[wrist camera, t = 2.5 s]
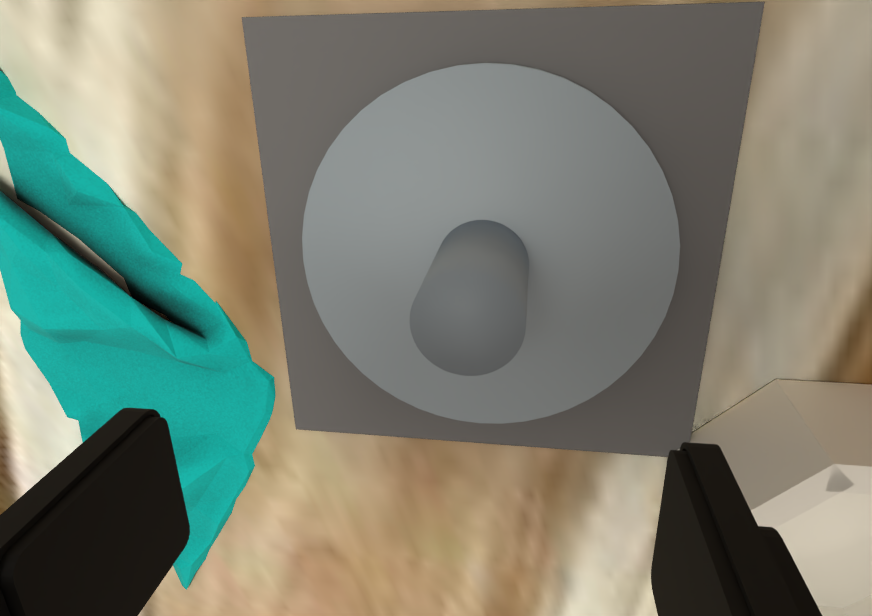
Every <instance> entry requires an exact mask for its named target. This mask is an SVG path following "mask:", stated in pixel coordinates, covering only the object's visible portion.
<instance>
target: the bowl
mask: <svg viewBox="0 0 872 616" xmlns="http://www.w3.org/2000/svg"><path fill="white" fill-rule="evenodd" d="M689 443H705V444H717V445H719V447H720V448H721V450H722V452H723V454H724V456H725V458H726V460H727V462H728V464H729V466H730V469H731V471H732V473H733V475H734V477H735V479H736V481H737V483H738V485H739V487H740V489H741V491H742V494H743V496H744V498H745V500H746V502H747V504H748V506H749V508H750V510H751V512H752V514H753V516H754V519H755V521H756V523H757V525H758V526H764V527H773V528H774V529H776V530H777V531H778V533H779V534H780V536H781V537H782V539H783V541H784V543H785V545H786V546H787V548H788V550H789V552H790V554H791V556H792V558H793V560H794V562H795V564H796V566H797V568H798V570H799V572H800V573H801V575H802V577H803V579H804V581H805V583H806V585H807V587H808V589H809V591H810V593H811V595H812V597H813V599H814V600H815V602H816V604H817V606H818V608H819V610H820V612H821V614H822V616H872V384H854V383H836V382H818V381H799V380H781V379H775V380H774V381H772V382H771V383H769V384H768V385H766V386H765V387H763V388H761V389H760V390H758V391H757V392H755V393H754V394H752V395H751V396H749V397H747V398H746V399H744V400H743V401H741V402H740V403H738V404H737V405H735V406H733V407H732V408H730V409H729V410H727V411H726V412H724V413H723V414H721V415H719V416H718V417H716V418H715V419H713V420H712V421H710V422H708V423H707V424H705V425H704V426H702V427H701V428H699V429H698V430H696V431H694V432H693V433H691V439H690V442H689ZM678 450H680V449H678Z"/></svg>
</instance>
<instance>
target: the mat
mask: <svg viewBox="0 0 872 616" xmlns="http://www.w3.org/2000/svg"><path fill="white" fill-rule="evenodd" d="M764 3H765V2H740V3H706V4H673V5H639V6H606V7H573V8H539V9H506V10H472V11H439V12H405V13H372V14H338V15H305V16H272V17H242V23H243V30H244V38H245V46H246V53H247V61H248V68H249V76H250V84H251V91H252V99H253V106H254V114H255V122H256V129H257V137H258V144H259V152H260V160H261V167H262V175H263V183H264V190H265V198H266V205H267V213H268V221H269V228H270V236H271V243H272V251H273V259H274V266H275V274H276V281H277V289H278V297H279V304H280V312H281V319H282V327H283V335H284V342H285V350H286V358H287V365H288V373H289V380H290V388H291V396H292V403H293V411H294V418H295V426H296V429H300V430H313V431H327V432H340V433H353V434H367V435H380V436H394V437H407V438H420V439H434V440H447V441H460V442H474V443H487V444H501V445H514V446H527V447H541V448H554V449H567V450H581V451H594V452H608V453H621V454H634V455H648V456H661V457H668V455H669V452H670V450H678V449H680V447H681V444H682V443H683V442H690V439H691V433H692V427H693V421H694V415H695V410H696V404H697V398H698V392H699V386H700V380H701V374H702V368H703V362H704V356H705V351H706V345H707V339H708V333H709V327H710V321H711V315H712V309H713V303H714V297H715V292H716V286H717V280H718V274H719V268H720V262H721V256H722V250H723V244H724V239H725V233H726V227H727V221H728V215H729V209H730V203H731V197H732V191H733V185H734V180H735V174H736V168H737V162H738V156H739V150H740V144H741V138H742V132H743V126H744V121H745V115H746V109H747V103H748V97H749V91H750V85H751V79H752V73H753V68H754V62H755V56H756V50H757V44H758V38H759V32H760V26H761V20H762V14H763V9H764ZM475 63H505V64H516V65H521V66H526V67H531V68H536V69H540V70H543V71H546V72H549V73H552V74H555V75H558V76H561V77H564V78H566V79H568V80H570V81H572V82H574V83H576V84H578V85H580V86H582V87H584V88H585V89H587V90H589V91H591V92H592V93H593V94H595V95H596V96H598V97H599V98H600V99H602V100H603V101H605V102H606V103H608V104H609V105H610V106H611V107H613V108H614V109H615V110H616V111H617V112H618V113H619V114H620V115H621V116H622V117H623V118H624V119H625V120H626V121H627V122H628V123H629V124H630V125H631V126H633V128H634V129H635V130H636V131H637V133H638V134H639V135H640V137H641V138H642V139H643V140H644V142H645V143H646V144H647V145H648V147H649V148H650V150H651V151H652V153H653V155H654V157H655V158H656V160H657V162H658V164H659V165H660V167H661V169H662V171H663V173H664V176H665V178H666V181H667V183H668V186H669V188H670V191H671V193H672V196H673V201H674V205H675V209H676V214H677V218H678V225H679V238H680V255H679V270H678V275H677V280H676V285H675V289H674V294H673V297H672V300H671V302H670V305H669V308H668V311H667V313H666V316H665V318H664V320H663V322H662V324H661V326H660V328H659V329H658V331H657V333H656V335H655V337H654V338H653V340H652V341H651V343H650V344H649V345H648V347H647V348H646V350H645V351H644V352H643V354H642V355H641V357H640V358H639V359H638V360H637V361H636V362H635V363H634V364H633V365H632V366H631V367H630V368H629V369H628V370H627V372H626V373H624V374H623V375H622V376H621V377H620V378H618V379H617V380H616V381H615V382H614V383H612V384H611V385H610V386H609V387H608V388H606V389H604V390H603V391H601V392H600V393H598V394H597V395H595V396H594V397H592V398H590V399H589V400H587V401H585V402H583V403H581V404H578V405H576V406H574V407H572V408H570V409H568V410H565V411H562V412H559V413H556V414H553V415H550V416H548V417H543V418H539V419H534V420H529V421H524V422H514V423H504V424H495V423H474V422H466V421H459V420H455V419H450V418H446V417H442V416H438V415H435V414H432V413H429V412H427V411H424V410H421V409H418V408H416V407H414V406H412V405H410V404H408V403H406V402H404V401H401V400H399V399H398V398H396V397H394V396H393V395H391V394H390V393H388V392H386V391H385V390H383V389H382V388H380V387H379V386H378V385H376V384H375V383H374V382H373V381H371V380H370V379H369V378H368V377H366V376H365V375H364V374H363V373H362V372H361V371H360V370H359V369H358V368H357V367H356V366H355V365H354V364H353V363H352V362H351V361H350V360H349V359H348V358H347V357H346V356H345V354H344V353H343V352H342V351H341V349H340V348H339V347H338V346H337V344H336V343H335V342H334V340H333V339H332V337H331V335H330V334H329V332H328V330H327V329H326V327H325V326H324V324H323V322H322V320H321V318H320V315H319V313H318V311H317V309H316V307H315V305H314V302H313V299H312V296H311V293H310V289H309V286H308V283H307V278H306V273H305V267H304V262H303V246H302V232H303V220H304V212H305V208H306V203H307V199H308V194H309V191H310V188H311V185H312V183H313V180H314V177H315V174H316V172H317V169H318V167H319V166H320V164H321V162H322V160H323V158H324V156H325V154H326V153H327V151H328V149H329V147H330V146H331V145H332V143H333V142H334V141H335V139H336V138H337V137H338V135H339V134H340V132H341V131H342V130H343V128H344V127H345V126H346V125H347V124H348V123H349V122H350V121H351V120H352V119H353V118H354V117H355V116H356V115H357V114H358V113H359V112H360V111H361V110H362V109H364V108H365V107H366V106H368V105H369V104H370V103H371V102H373V101H374V100H375V99H377V98H378V97H379V96H381V95H382V94H384V93H386V92H387V91H389V90H391V89H393V88H394V87H396V86H398V85H400V84H402V83H403V82H405V81H408V80H411V79H413V78H416V77H418V76H421V75H423V74H426V73H428V72H432V71H436V70H440V69H444V68H448V67H452V66H457V65H464V64H475Z"/></svg>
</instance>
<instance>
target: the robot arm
mask: <svg viewBox="0 0 872 616" xmlns="http://www.w3.org/2000/svg"><path fill="white" fill-rule="evenodd" d="M189 535H190V525H189V520H188V515H187V511H186V506H185V501H184V497H183V492H182V487H181V483H180V478H179V473H178V469H177V464H176V459H175V454H174V450H173V445H172V440H171V436H170V431H169V426H168V423H167V421H166V419H165V418H163V417H161V416H160V414H159V413H158V411H156V410H154V409H143V408H123V409H122V410H120V411H119V412H118V413H116V414H115V415H114V416H113V417H112V418H111V419H110V420H108V421H107V422H106V423H105V424H104V425H103V426H102V427H100V428H99V429H98V430H97V431H96V432H95V433H94V434H92V435H91V436H90V437H89V438H88V439H87V440H86V441H84V442H83V443H82V444H81V445H80V446H79V447H78V448H76V449H75V450H74V451H73V452H72V453H71V454H70V455H68V456H67V457H66V458H65V459H64V460H63V461H62V462H60V463H59V464H58V465H57V466H56V467H55V468H54V469H52V470H51V471H50V472H49V473H48V474H47V475H46V476H44V477H43V478H42V479H41V480H40V481H39V482H38V483H36V484H35V485H34V486H33V487H32V488H31V489H30V490H28V491H27V492H26V493H25V494H24V495H23V496H22V497H20V498H19V499H18V500H17V501H16V502H15V503H14V504H12V505H11V506H10V507H9V508H8V509H7V510H6V511H4V512H3V513H2V514H1V515H0V616H138V614H139V613H140V611H141V610H142V609H143V607H144V606H145V604H146V603H147V601H148V600H149V599H150V597H151V596H152V594H153V593H154V591H155V590H156V588H157V587H158V586H159V584H160V583H161V581H162V580H163V578H164V577H165V576H166V574H167V573H168V571H169V570H170V568H171V567H172V565H173V564H174V563H175V561H176V560H177V558H178V557H179V555H180V554H181V552H182V551H183V550H184V548H185V546H186V545H187V542H188V540H189ZM651 582H652V590H653V595H654V599H655V604H656V608H657V612H658V616H822V614H821V612H820V610H819V608H818V606H817V604H816V602H815V600H814V599H813V597H812V595H811V593H810V591H809V589H808V587H807V585H806V583H805V581H804V579H803V577H802V575H801V573H800V572H799V570H798V568H797V566H796V564H795V562H794V560H793V558H792V556H791V554H790V552H789V550H788V548H787V546H786V545H785V543H784V541H783V539H782V537H781V536H780V534H779V533H778V531H777V530H776V529H774V528H773V527H764V526H758V525H757V523H756V521H755V519H754V516H753V514H752V512H751V510H750V508H749V506H748V504H747V502H746V500H745V498H744V496H743V494H742V491H741V489H740V487H739V485H738V483H737V481H736V479H735V477H734V475H733V473H732V471H731V469H730V466H729V464H728V462H727V460H726V458H725V456H724V454H723V452H722V450H721V448H720V447H719V445H717V444H705V443H689V442H683V443H682V444H681V447H680V450H670V452H669V455H668V460H667V467H666V474H665V480H664V487H663V494H662V501H661V507H660V514H659V521H658V528H657V534H656V541H655V548H654V555H653V561H652V569H651Z"/></svg>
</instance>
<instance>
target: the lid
mask: <svg viewBox="0 0 872 616" xmlns="http://www.w3.org/2000/svg"><path fill="white" fill-rule="evenodd" d="M302 246H303V262H304V267H305V273H306V278H307V283H308V286H309V289H310V293H311V296H312V299H313V302H314V305H315V307H316V309H317V311H318V313H319V315H320V318H321V320H322V322H323V324H324V326H325V327H326V329H327V330H328V332H329V334H330V335H331V337H332V339H333V340H334V342H335V343H336V344H337V346H338V347H339V348H340V349H341V351H342V352H343V353H344V354H345V356H346V357H347V358H348V359H349V360H350V361H351V362H352V363H353V364H354V365H355V366H356V367H357V368H358V369H359V370H360V371H361V372H362V373H363V374H364V375H365V376H366V377H368V378H369V379H370V380H371V381H373V382H374V383H375V384H376V385H378V386H379V387H380V388H382V389H383V390H385V391H386V392H388V393H390V394H391V395H393V396H394V397H396V398H398V399H399V400H401V401H404V402H406V403H408V404H410V405H412V406H414V407H416V408H418V409H421V410H424V411H427V412H429V413H432V414H435V415H438V416H442V417H446V418H450V419H455V420H459V421H466V422H474V423H495V424H504V423H514V422H524V421H529V420H534V419H539V418H543V417H548V416H550V415H553V414H556V413H559V412H562V411H565V410H568V409H570V408H572V407H574V406H576V405H578V404H581V403H583V402H585V401H587V400H589V399H590V398H592V397H594V396H595V395H597V394H598V393H600V392H601V391H603V390H604V389H606V388H608V387H609V386H610V385H611V384H612V383H614V382H615V381H616V380H617V379H618V378H620V377H621V376H622V375H623V374H624V373H626V372H627V370H628V369H629V368H630V367H631V366H632V365H633V364H634V363H635V362H636V361H637V360H638V359H639V358H640V357H641V355H642V354H643V352H644V351H645V350H646V348H647V347H648V345H649V344H650V343H651V341H652V340H653V338H654V337H655V335H656V333H657V331H658V329H659V328H660V326H661V324H662V322H663V320H664V318H665V316H666V313H667V311H668V308H669V305H670V302H671V300H672V297H673V294H674V289H675V285H676V280H677V275H678V270H679V255H680V238H679V225H678V218H677V214H676V209H675V205H674V201H673V196H672V193H671V191H670V188H669V186H668V183H667V181H666V178H665V176H664V173H663V171H662V169H661V167H660V165H659V164H658V162H657V160H656V158H655V157H654V155H653V153H652V151H651V150H650V148H649V147H648V145H647V144H646V143H645V142H644V140H643V139H642V138H641V137H640V135H639V134H638V133H637V131H636V130H635V129H634V128H633V126H631V125H630V124H629V123H628V122H627V121H626V120H625V119H624V118H623V117H622V116H621V115H620V114H619V113H618V112H617V111H616V110H615V109H614V108H613V107H611V106H610V105H609V104H608V103H606V102H605V101H603V100H602V99H600V98H599V97H598V96H596V95H595V94H593V93H592V92H591V91H589V90H587V89H585V88H584V87H582V86H580V85H578V84H576V83H574V82H572V81H570V80H568V79H566V78H564V77H561V76H558V75H555V74H552V73H549V72H546V71H543V70H540V69H536V68H531V67H526V66H521V65H516V64H505V63H475V64H464V65H457V66H452V67H448V68H444V69H440V70H436V71H432V72H428V73H426V74H423V75H421V76H418V77H416V78H413V79H411V80H408V81H405V82H403V83H402V84H400V85H398V86H396V87H394V88H393V89H391V90H389V91H387V92H386V93H384V94H382V95H381V96H379V97H378V98H377V99H375V100H374V101H373V102H371V103H370V104H369V105H368V106H366V107H365V108H364V109H362V110H361V111H360V112H359V113H358V114H357V115H356V116H355V117H354V118H353V119H352V120H351V121H350V122H349V123H348V124H347V125H346V126H345V127H344V128H343V130H342V131H341V132H340V134H339V135H338V137H337V138H336V139H335V141H334V142H333V143H332V145H331V146H330V147H329V149H328V151H327V153H326V154H325V156H324V158H323V160H322V162H321V164H320V166H319V167H318V169H317V172H316V174H315V177H314V180H313V183H312V185H311V188H310V191H309V194H308V199H307V203H306V208H305V212H304V220H303V232H302Z"/></svg>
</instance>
